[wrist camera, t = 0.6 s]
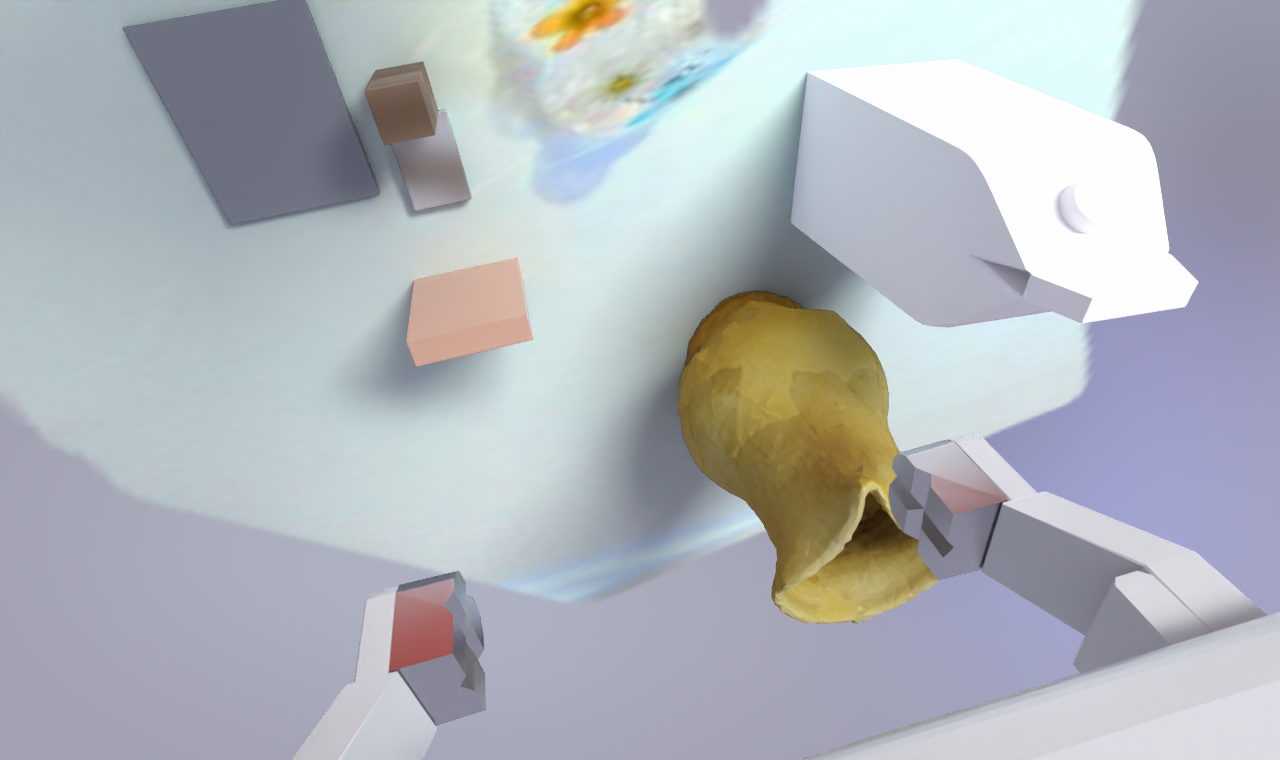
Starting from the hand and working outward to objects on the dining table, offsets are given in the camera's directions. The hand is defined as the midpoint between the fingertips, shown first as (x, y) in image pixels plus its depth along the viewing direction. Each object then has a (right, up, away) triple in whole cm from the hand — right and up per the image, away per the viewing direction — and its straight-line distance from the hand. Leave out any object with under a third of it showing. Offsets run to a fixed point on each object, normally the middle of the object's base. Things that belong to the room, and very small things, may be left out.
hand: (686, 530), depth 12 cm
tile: (-14, +10, +39) cm, 43 cm away
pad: (-25, +19, +29) cm, 43 cm away
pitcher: (+9, +5, +49) cm, 51 cm away
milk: (+17, +21, +40) cm, 48 cm away
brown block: (-16, +19, +32) cm, 40 cm away
